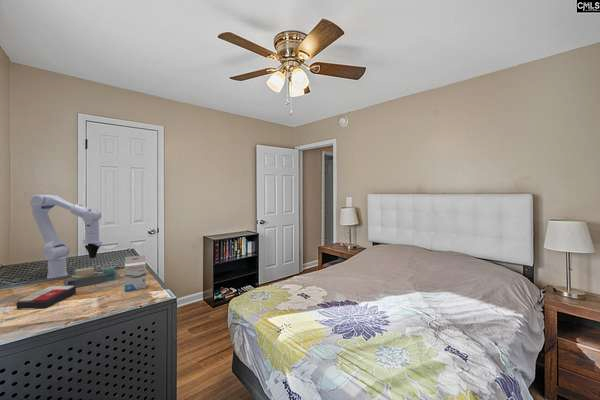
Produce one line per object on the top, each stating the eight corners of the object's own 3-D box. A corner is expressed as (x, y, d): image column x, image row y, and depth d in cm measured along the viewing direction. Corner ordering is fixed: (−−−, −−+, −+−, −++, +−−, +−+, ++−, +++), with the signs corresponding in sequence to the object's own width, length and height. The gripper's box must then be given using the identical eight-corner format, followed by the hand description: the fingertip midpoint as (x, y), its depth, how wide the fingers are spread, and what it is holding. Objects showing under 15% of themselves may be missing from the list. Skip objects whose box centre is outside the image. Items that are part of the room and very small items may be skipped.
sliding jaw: (71, 280, 132) (71, 273, 132) (114, 273, 144) (113, 266, 144) (72, 282, 130) (72, 274, 129) (115, 274, 142) (114, 267, 142)
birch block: (75, 281, 130) (75, 269, 130) (93, 278, 135) (92, 267, 135) (76, 283, 127) (75, 271, 127) (94, 280, 132) (93, 268, 132)
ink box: (124, 291, 118) (124, 259, 118) (124, 288, 123) (124, 257, 122) (146, 288, 123) (146, 256, 123) (145, 284, 127) (145, 254, 127)
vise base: (63, 280, 134) (63, 272, 133) (115, 271, 149) (115, 264, 149) (65, 290, 120) (64, 282, 120) (122, 279, 135) (122, 272, 135)
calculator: (15, 300, 100) (49, 284, 115) (16, 311, 101) (50, 294, 116) (45, 299, 101) (76, 284, 116) (46, 310, 102) (76, 293, 116)
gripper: (76, 232, 141) (77, 257, 141) (90, 234, 134) (91, 261, 135) (91, 231, 147) (92, 255, 148) (106, 233, 141) (106, 258, 141)
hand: (92, 257), depth 142 cm, fingers closed
